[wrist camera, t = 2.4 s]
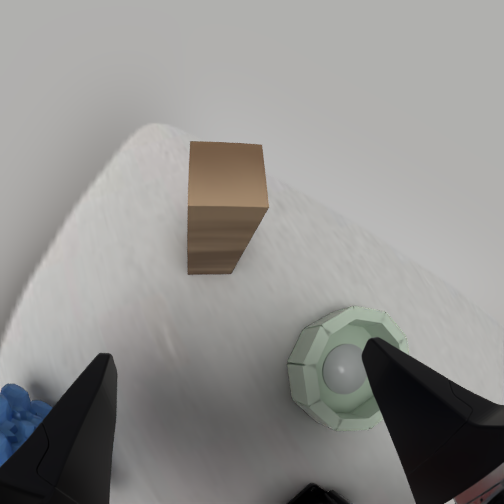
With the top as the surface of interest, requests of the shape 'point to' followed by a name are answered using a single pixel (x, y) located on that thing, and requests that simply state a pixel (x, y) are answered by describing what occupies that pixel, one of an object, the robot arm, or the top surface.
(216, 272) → the layered tan brick
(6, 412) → the grapes
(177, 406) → the top surface
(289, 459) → the top surface
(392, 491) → the top surface
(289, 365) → the pale green faceted bowl
